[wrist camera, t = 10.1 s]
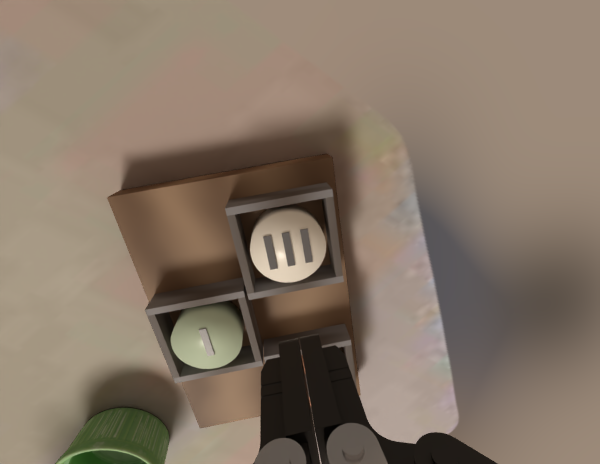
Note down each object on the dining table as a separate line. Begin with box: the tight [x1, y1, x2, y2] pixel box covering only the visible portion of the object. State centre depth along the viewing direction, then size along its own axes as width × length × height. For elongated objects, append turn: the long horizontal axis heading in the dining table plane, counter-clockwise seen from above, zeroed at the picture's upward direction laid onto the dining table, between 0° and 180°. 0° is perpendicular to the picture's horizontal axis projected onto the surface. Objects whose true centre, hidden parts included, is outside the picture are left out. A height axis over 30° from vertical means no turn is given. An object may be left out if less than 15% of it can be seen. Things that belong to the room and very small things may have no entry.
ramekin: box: [55, 408, 169, 464], centre depth 29 cm, size 9×9×4 cm
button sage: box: [171, 301, 244, 369], centre depth 23 cm, size 5×5×2 cm
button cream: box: [250, 204, 326, 283], centre depth 21 cm, size 5×5×2 cm
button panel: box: [107, 154, 360, 428], centre depth 25 cm, size 15×22×4 cm
